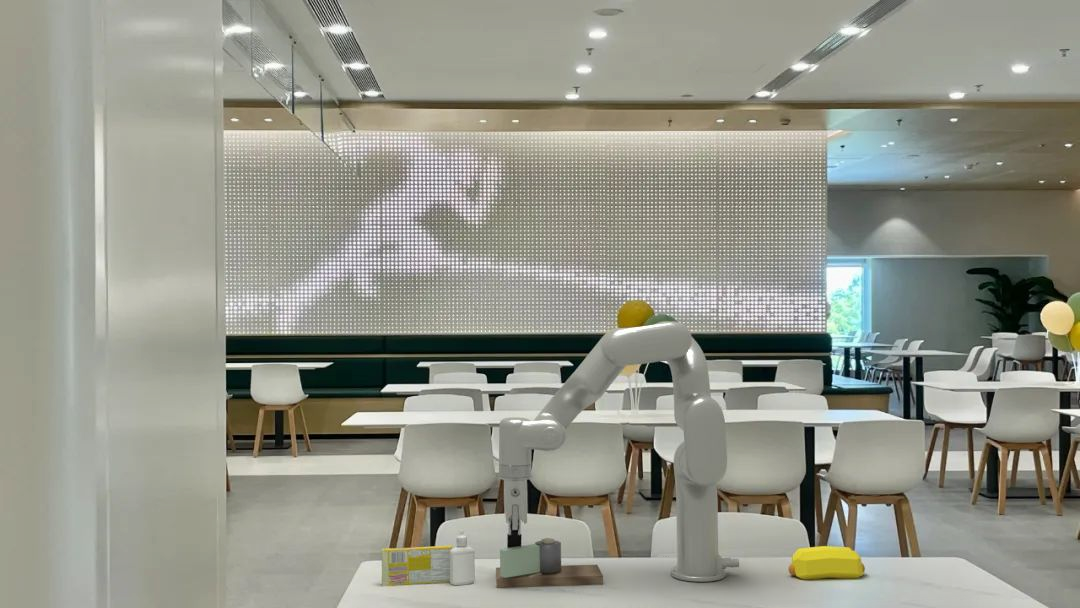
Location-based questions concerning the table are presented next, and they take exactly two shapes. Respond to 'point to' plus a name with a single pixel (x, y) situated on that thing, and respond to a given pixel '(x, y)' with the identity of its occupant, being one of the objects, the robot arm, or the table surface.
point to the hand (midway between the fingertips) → (514, 551)
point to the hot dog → (826, 563)
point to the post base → (554, 577)
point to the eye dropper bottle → (462, 562)
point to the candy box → (416, 565)
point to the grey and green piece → (531, 558)
